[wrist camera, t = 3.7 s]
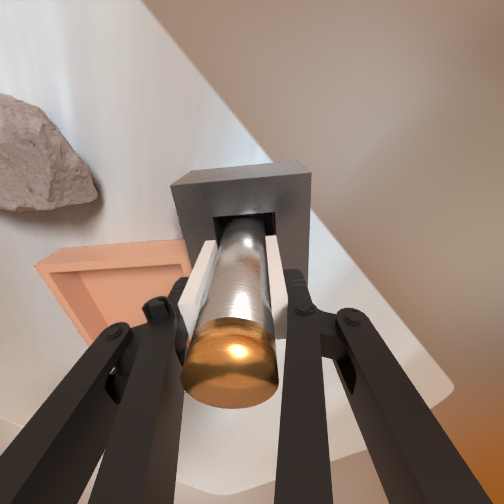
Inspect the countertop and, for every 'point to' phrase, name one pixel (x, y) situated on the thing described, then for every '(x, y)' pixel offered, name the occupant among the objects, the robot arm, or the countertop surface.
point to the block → (247, 206)
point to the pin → (235, 324)
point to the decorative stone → (38, 162)
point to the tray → (113, 281)
